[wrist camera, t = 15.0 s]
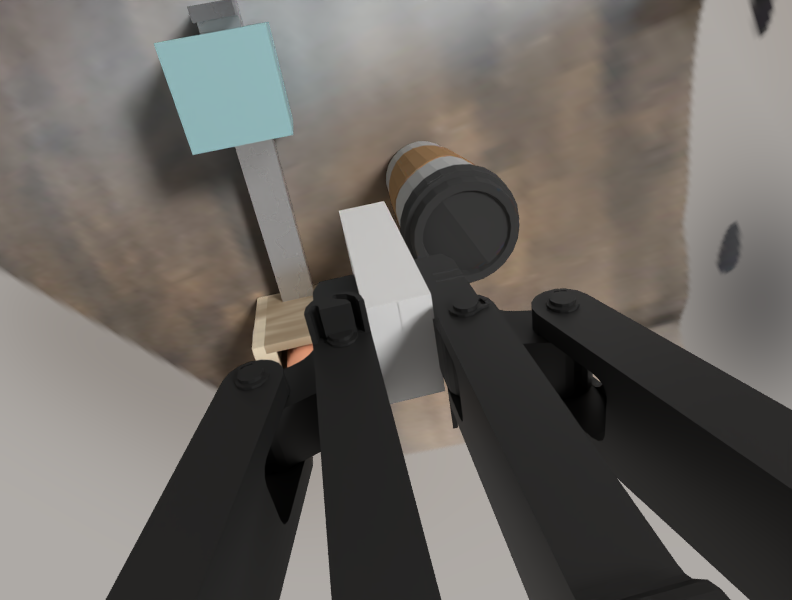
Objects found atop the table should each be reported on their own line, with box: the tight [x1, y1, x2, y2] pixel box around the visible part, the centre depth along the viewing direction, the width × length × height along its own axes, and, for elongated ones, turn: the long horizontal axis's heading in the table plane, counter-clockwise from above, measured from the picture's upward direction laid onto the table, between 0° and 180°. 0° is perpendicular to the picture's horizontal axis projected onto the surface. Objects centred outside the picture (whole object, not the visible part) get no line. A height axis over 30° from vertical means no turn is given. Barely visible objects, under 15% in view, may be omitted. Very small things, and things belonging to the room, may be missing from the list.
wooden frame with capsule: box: [252, 285, 317, 369], centre depth 49 cm, size 6×8×9 cm
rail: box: [187, 0, 314, 302], centre depth 44 cm, size 26×3×4 cm, turn 9°
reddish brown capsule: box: [287, 344, 313, 367], centre depth 45 cm, size 4×4×3 cm
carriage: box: [154, 22, 293, 155], centre depth 38 cm, size 7×7×8 cm
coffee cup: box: [386, 141, 519, 283], centre depth 42 cm, size 8×8×15 cm
